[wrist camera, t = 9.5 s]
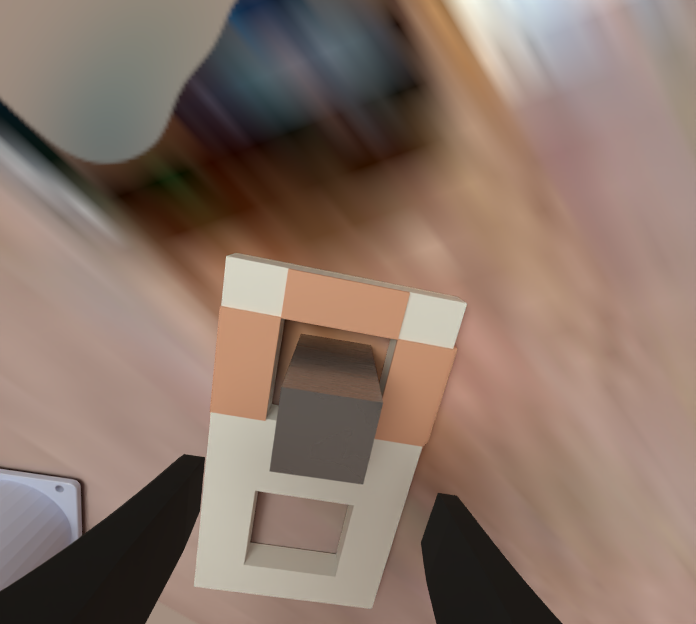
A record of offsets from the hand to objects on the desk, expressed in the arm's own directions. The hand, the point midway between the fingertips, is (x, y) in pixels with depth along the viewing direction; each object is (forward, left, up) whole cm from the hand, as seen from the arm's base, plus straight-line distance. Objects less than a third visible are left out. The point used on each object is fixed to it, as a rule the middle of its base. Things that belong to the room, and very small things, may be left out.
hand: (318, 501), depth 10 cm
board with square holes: (0, -5, -9) cm, 11 cm away
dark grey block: (0, 0, -9) cm, 9 cm away
